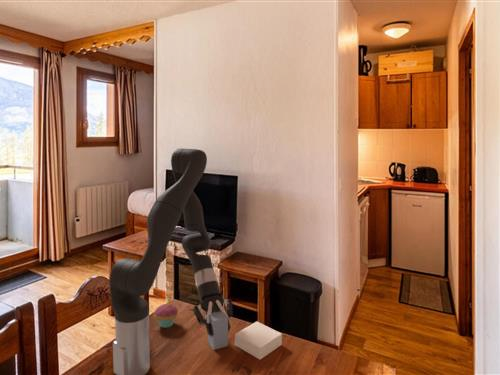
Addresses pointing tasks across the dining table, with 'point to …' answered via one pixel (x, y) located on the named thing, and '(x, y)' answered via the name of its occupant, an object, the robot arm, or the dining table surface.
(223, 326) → the block
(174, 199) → the robot arm
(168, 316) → the cupcake
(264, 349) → the base
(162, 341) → the dining table surface
